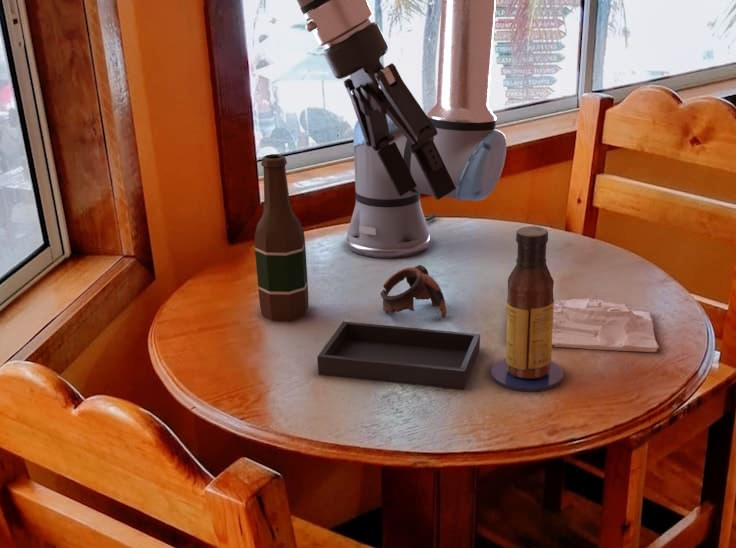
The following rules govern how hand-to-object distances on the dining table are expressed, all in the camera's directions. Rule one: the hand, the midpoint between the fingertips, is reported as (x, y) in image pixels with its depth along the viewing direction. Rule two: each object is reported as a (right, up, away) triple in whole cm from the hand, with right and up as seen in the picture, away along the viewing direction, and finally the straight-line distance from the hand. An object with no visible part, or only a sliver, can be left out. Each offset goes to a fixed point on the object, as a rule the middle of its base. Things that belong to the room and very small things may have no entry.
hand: (426, 192), depth 129 cm
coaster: (+14, -23, +7) cm, 28 cm away
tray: (-4, -21, +10) cm, 24 cm away
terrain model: (+24, -15, +20) cm, 34 cm away
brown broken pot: (-1, -11, +26) cm, 28 cm away
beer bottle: (-22, -11, +25) cm, 35 cm away
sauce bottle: (+14, -23, +7) cm, 28 cm away
